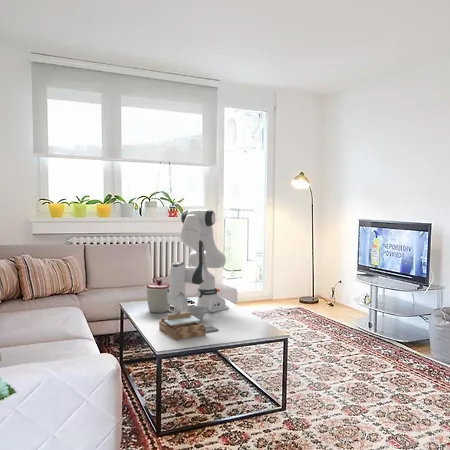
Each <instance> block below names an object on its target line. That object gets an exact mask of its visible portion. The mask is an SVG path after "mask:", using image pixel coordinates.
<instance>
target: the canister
mask: <svg viewBox="0 0 450 450" xmlns="http://www.w3.org/2000/svg"><path fill="white" fill-rule="evenodd" d="M169 287H170V283H168V282H163V281H162V279H160V278H159V279H156V282H151V283H149V284H147V285H145V286H144V288H145V289H146V300H147V306H148V310H149V312H151V313H153V314H154V313H155V314H163V313H167V312H168V311H169V310H170V306H171V305H170V304H168V301H167V293H168V292H167V288H169Z"/></svg>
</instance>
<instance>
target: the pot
mask: <svg viewBox="0 0 450 450" xmlns="http://www.w3.org/2000/svg"><path fill="white" fill-rule="evenodd" d="M181 327H184V326H183V324H180V325H174V327H173V329H174V330H176V331H177V328H181Z"/></svg>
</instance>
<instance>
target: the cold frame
mask: <svg viewBox="0 0 450 450" xmlns="http://www.w3.org/2000/svg"><path fill="white" fill-rule="evenodd" d="M166 319H167V317H163V318H162V317H161V318H160V320H159V323H158V328H159V329H158V330H160V331H161V330H162V331H161V332H163V333H165V334H166V335H167V336H169V337H170V338H171V339H173V340H175V341H178V340H179V339H180V340H185V339H192V338H196V337H200V336H206V327H207V326H205V324H204V323H202V324H201V323H199V322H193V323H186V324H183V327H181V328H177V331H176V330H174V325H173V326H171V325H169V324H168V323H166V322H165V321H164V320H166Z"/></svg>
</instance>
